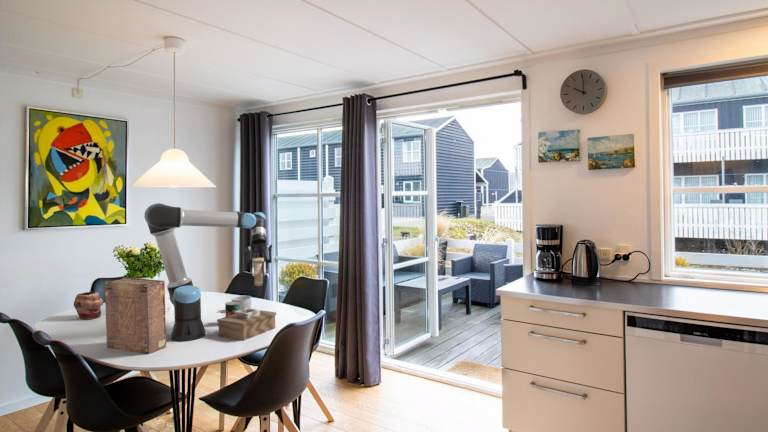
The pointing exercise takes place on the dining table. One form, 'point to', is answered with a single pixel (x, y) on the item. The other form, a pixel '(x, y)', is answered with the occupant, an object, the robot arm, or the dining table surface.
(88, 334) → the dining table surface
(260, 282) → the beech peg
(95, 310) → the decorative planter
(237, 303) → the canned tomato
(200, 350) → the dining table surface
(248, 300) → the teacup
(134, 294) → the brown upright block
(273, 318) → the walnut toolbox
